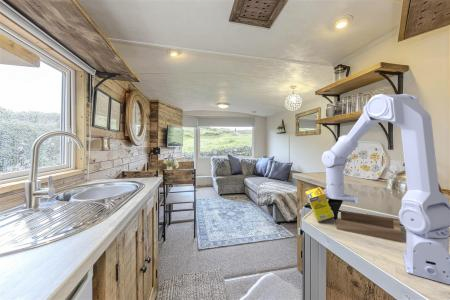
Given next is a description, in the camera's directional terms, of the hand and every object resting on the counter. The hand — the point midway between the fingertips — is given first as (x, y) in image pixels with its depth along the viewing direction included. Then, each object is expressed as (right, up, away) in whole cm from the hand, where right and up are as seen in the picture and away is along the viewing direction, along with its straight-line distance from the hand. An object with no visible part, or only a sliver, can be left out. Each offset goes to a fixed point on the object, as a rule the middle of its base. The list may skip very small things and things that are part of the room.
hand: (335, 218), depth 75 cm
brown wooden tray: (+8, -1, -6) cm, 10 cm away
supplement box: (-3, 0, +2) cm, 4 cm away
